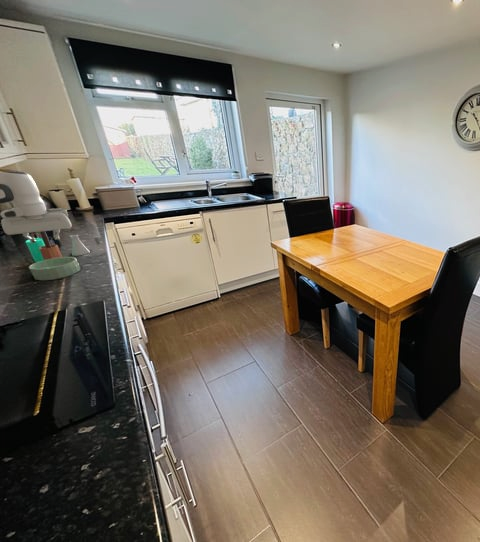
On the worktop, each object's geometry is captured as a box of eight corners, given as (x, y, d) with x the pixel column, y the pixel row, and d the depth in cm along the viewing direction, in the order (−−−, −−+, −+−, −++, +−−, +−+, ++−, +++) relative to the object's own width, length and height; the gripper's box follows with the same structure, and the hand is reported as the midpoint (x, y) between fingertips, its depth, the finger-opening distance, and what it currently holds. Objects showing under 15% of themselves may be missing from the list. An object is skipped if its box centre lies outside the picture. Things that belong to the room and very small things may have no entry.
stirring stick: (52, 264, 130) (36, 231, 123) (52, 263, 131) (37, 230, 124) (60, 263, 131) (45, 230, 125) (60, 262, 132) (45, 229, 126)
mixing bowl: (31, 284, 113) (25, 272, 110) (37, 273, 123) (32, 261, 120) (79, 275, 121) (74, 263, 119) (81, 265, 131) (77, 254, 129)
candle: (38, 259, 136) (27, 235, 131) (55, 257, 139) (45, 234, 134) (32, 263, 131) (20, 239, 127) (50, 261, 134) (39, 237, 129)
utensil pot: (46, 268, 127) (38, 249, 124) (48, 264, 131) (40, 246, 128) (64, 265, 131) (56, 247, 127) (65, 261, 135) (58, 243, 131)
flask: (93, 253, 145) (86, 234, 141) (74, 257, 140) (66, 238, 136) (87, 250, 149) (80, 232, 145) (69, 254, 143) (61, 235, 139)
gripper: (66, 206, 129) (77, 235, 135) (-2, 211, 117) (13, 243, 123) (64, 208, 125) (76, 238, 130) (-7, 214, 113) (10, 246, 118)
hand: (45, 240), depth 126 cm, fingers open, 6 cm apart
